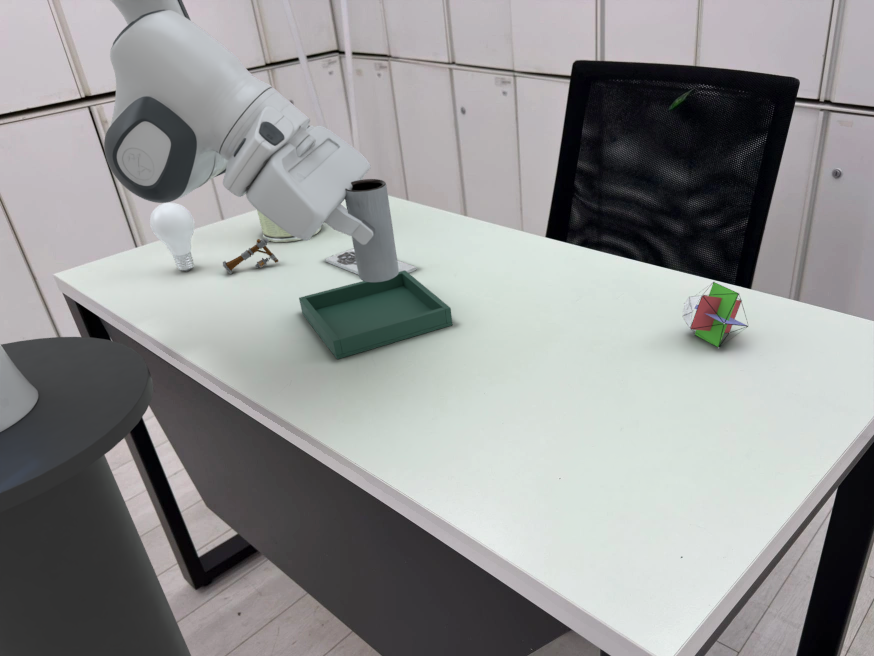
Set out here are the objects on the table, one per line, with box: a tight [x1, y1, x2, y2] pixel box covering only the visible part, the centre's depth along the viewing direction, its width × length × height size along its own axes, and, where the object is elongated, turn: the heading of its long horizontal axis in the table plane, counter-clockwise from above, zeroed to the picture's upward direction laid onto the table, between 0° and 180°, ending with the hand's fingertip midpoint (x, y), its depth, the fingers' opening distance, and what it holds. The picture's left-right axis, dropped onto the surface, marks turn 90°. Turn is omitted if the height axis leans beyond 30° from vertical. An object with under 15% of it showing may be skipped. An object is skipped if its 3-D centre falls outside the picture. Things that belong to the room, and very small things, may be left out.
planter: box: [344, 178, 399, 282], centre depth 82 cm, size 4×4×10 cm
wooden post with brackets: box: [222, 238, 279, 275], centre depth 118 cm, size 2×8×4 cm, turn 108°
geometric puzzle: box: [682, 280, 750, 349], centre depth 87 cm, size 7×7×8 cm
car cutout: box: [324, 247, 418, 276], centre depth 115 cm, size 15×7×4 cm, turn 46°
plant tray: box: [298, 270, 453, 360], centre depth 99 cm, size 16×16×2 cm
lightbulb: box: [149, 201, 196, 272], centre depth 117 cm, size 6×6×11 cm
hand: (377, 229), depth 81 cm, fingers closed on planter, 4 cm apart
